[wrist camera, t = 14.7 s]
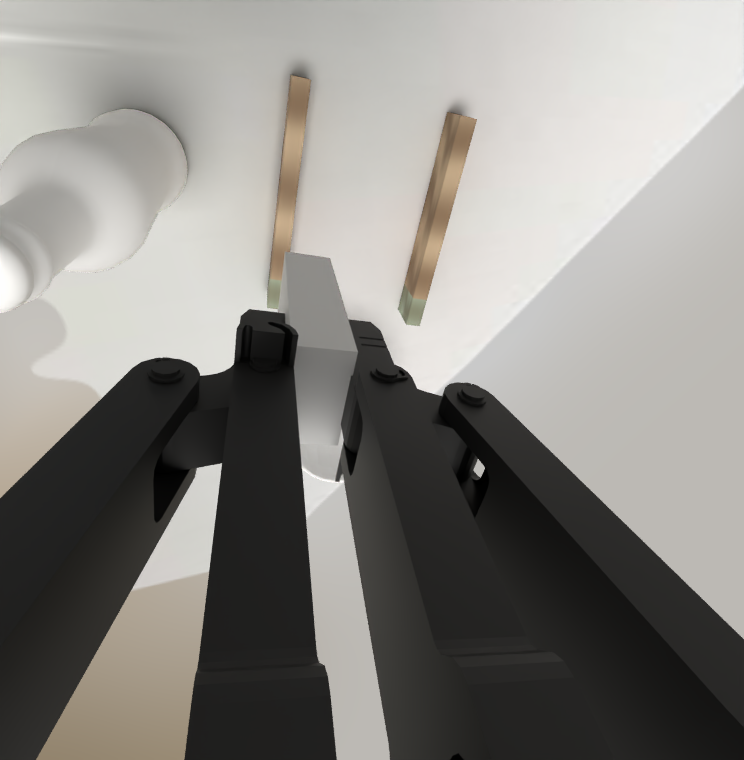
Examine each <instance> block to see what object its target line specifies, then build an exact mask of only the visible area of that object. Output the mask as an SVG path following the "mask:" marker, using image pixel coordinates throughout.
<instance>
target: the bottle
mask: <svg viewBox="0 0 744 760" xmlns="http://www.w3.org/2000/svg"><path fill="white" fill-rule="evenodd" d="M187 172H188V170H187V160H186V156H185V153H184V150H183V148H182V145H181V143H180V142H179V140H178V138H177V137H176V135H175V134H174V132H173V131H172V130H171V129H170V128H169V127H168V126H167V125H166V124H165V123H163V122H162V121H160V120H159V119H157V118H155V117H154V116H152V115H151V114H148V113H145V112H142V111H139V110H135V109H119V110H114V111H110V112H106V113H103V114H102V115H100V116H98V117H97V118H95V119H93V120H92V121H91V123H90V124H89V125H88V126H87V127H80V128H71V129H63V130H56V131H51V132H47V133H42V134H38V135H35V136H32V137H30V138H29V139H27V140H25V141H24V142H22V143H20V144H19V145H17V146H16V147H15V148H14V149H13V150H12V152H11V153H10V154H9V155H8V157H7V158H6V159H5V160H4V162H3V163H2V165H1V168H0V313H3V312H7V311H10V310H13V309H15V308H17V307H19V306H21V305H23V304H24V303H28V302H30V301H32V300H34V299H36V298H37V297H39V296H41V295H42V294H43V293H44V292H45V291H46V289H47V288H48V287H49V285H50V283H51V281H52V279H53V278H54V277H55V276H56V275H57V274H58V273H60V272H61V271H62V270H65V271H69V272H87V273H96V272H100V271H104V270H109V269H112V268H114V267H116V266H118V265H119V264H121V263H123V262H125V261H127V260H128V259H130V258H131V257H132V256H133V255H134V254H135V253H136V252H137V251H138V250H139V249H140V248H141V247H142V245H143V244H144V242H145V240H146V238H147V236H148V234H149V231H150V229H151V227H152V225H153V223H154V221H155V219H156V217H157V214H158V213H159V212H161V211H163V210H164V209H166V208H168V207H170V206H171V205H172V204H173V203H174V201H175V200H176V199H177V198H178V197H179V196H180V194H181V192H182V190H183V188H184V186H185V184H186V178H187Z"/></svg>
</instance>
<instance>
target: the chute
mask: <svg viewBox="0 0 744 760" xmlns="http://www.w3.org/2000/svg"><path fill="white" fill-rule="evenodd" d="M310 84H311V80H309V79H306V78H302V77H298V76H294V75H290V84H289V94H288V103H287V113H286V122H285V131H284V141H283V150H282V159H281V169H280V178H279V188H278V197H277V206H276V216H275V225H274V235H273V244H272V253H271V263H270V272H269V282H268V291H267V308H273V309H278V307H279V298H280V290H281V281H282V273H283V264H284V256H285V252H290V245H291V237H292V229H293V220H294V212H295V204H296V196H297V188H298V180H299V172H300V164H301V156H302V148H303V140H304V132H305V124H306V116H307V108H308V100H309V92H310ZM476 121H477V119H474V118H470V117H466V116H462V115H458V114H454V113H450V112H447V116H446V120H445V124H444V128H443V132H442V136H441V140H440V144H439V148H438V152H437V156H436V160H435V164H434V168H433V172H432V176H431V180H430V184H429V188H428V192H427V196H426V200H425V204H424V208H423V212H422V216H421V220H420V224H419V228H418V232H417V236H416V240H415V244H414V248H413V252H412V256H411V260H410V264H409V268H408V272H407V276H406V280H405V284H404V288H403V292H402V296H401V300H400V304H399V308H398V310H399V312H400V314H401V315H402V317H403V319H404V321H405V323H406V325H415V326H420V322H421V319H422V315H423V312H424V308H425V304H426V301H427V297H428V294H429V290H430V286H431V283H432V279H433V276H434V272H435V268H436V265H437V261H438V258H439V254H440V250H441V247H442V243H443V240H444V236H445V232H446V229H447V225H448V222H449V218H450V214H451V211H452V207H453V204H454V200H455V196H456V193H457V189H458V186H459V182H460V178H461V175H462V171H463V168H464V164H465V160H466V157H467V153H468V150H469V146H470V142H471V139H472V135H473V132H474V128H475V124H476Z"/></svg>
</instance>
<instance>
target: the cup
mask: <svg viewBox="0 0 744 760" xmlns="http://www.w3.org/2000/svg"><path fill="white" fill-rule="evenodd" d="M343 441H344V439H343V434H342V429H341V433H340V438H339V443H338V446H336V445H317V444H300V450H301V463H302V469H303V470H304V471H305V472H307V473H308V474H309V475H311V476H312V477H315V478H317V479H320V480H322V481H328V482H333V483H337V482H335V479H336V473H337V468H338V464H339V459H340V455H341V450H342V446H343ZM340 482H344V477H343V474H342V475H341V478H340Z"/></svg>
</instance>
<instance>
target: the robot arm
mask: <svg viewBox="0 0 744 760" xmlns="http://www.w3.org/2000/svg"><path fill="white" fill-rule="evenodd" d="M341 429H342V434H343V439H344V441H343V446H342V450H341V455H340V459H339V464H338V468H337V473H336V479H335V482H340V478H341V475H342V474H343V477H344V483H345V489H346V495H347V500H348V507H349V512H350V518H351V524H352V530H353V536H354V542H355V548H356V554H357V559H358V566H359V572H360V577H361V583H362V589H363V595H364V601H365V607H366V613H367V619H368V625H369V630H370V636H371V642H372V648H373V654H374V660H375V666H376V671H377V677H378V684H379V689H380V695H381V701H382V707H383V713H384V719H385V725H386V731H387V736H388V742H389V751H390V760H744V639H743V638H742V637H741V636H740V635H739V634H738V633H737V632H736V631H735V630H734V629H732V627H730V626H729V625H728V624H727V623H726V622H725V621H724V620H723V619H722V618H721V617H720V616H719V615H718V614H717V613H716V612H715V611H714V610H713V609H712V608H711V607H710V606H709V605H708V604H707V603H706V602H705V601H704V600H703V599H701V597H700V596H699V595H698V594H697V593H696V592H695V591H693V590H692V589H691V588H690V587H689V586H688V585H687V584H686V583H685V582H684V581H683V580H682V579H681V578H680V577H679V576H678V575H677V574H676V573H675V572H674V571H673V570H672V569H671V568H670V567H669V566H668V565H667V564H666V563H665V562H663V560H662V559H661V558H660V557H659V556H657V555H656V554H655V553H654V552H653V551H652V550H651V549H650V548H649V547H648V546H647V545H646V544H645V543H644V542H643V541H642V540H641V539H640V538H639V537H638V536H637V535H636V534H635V533H634V532H633V531H632V530H631V529H630V528H629V527H628V526H627V525H626V524H625V523H624V522H623V521H622V520H621V519H619V518H618V517H617V516H616V515H615V514H614V513H613V512H612V511H611V510H610V509H609V508H608V507H607V506H606V505H605V504H604V503H603V502H602V501H601V500H600V499H599V498H598V497H597V496H596V495H595V494H594V493H593V492H592V491H591V490H590V489H589V488H588V487H586V485H584V483H582V482H581V481H580V480H579V479H578V478H577V477H576V476H575V475H574V474H573V473H572V472H571V471H570V470H569V469H568V468H567V467H566V466H565V465H564V464H563V463H562V462H561V461H560V460H559V459H558V458H557V457H556V456H555V455H553V453H552V452H551V451H550V450H549V449H548V448H546V447H545V446H544V445H543V444H542V443H541V442H540V441H539V440H538V439H537V438H536V437H535V436H534V435H533V434H532V433H531V432H530V431H529V430H528V429H527V428H526V427H525V426H524V425H523V424H522V423H521V422H520V421H519V420H518V419H517V418H516V417H514V415H513V414H511V412H510V411H508V410H507V409H506V408H505V407H504V406H503V405H502V404H501V403H500V402H499V401H498V400H497V399H496V398H495V397H494V396H493V395H492V394H490V393H489V392H488V391H486V390H484V389H482V388H480V387H479V386H477V385H474V384H472V385H471V384H470V383H453V384H449V385H448V386H447V387H445V390H444V393H443V396H439V395H435V394H432V393H428V392H425V391H422V390H419V389H417V388H416V385H415V383H414V381H413V379H412V377H411V376H410V374H409V373H408V372H407V371H405V370H404V369H403V368H401V367H399V366H396V365H394V363H393V360H392V358H391V356H390V353H389V351H388V348H387V346H386V343H385V341H384V338H383V336H382V333H381V331H380V330H379V329H378V328H377V327H376V326H374V325H373V324H372V323H371V322H365V321H357V320H348V317H347V314H346V310H345V307H344V304H343V300H342V297H341V294H340V290H339V287H338V284H337V280H336V277H335V274H334V270H333V267H332V264H331V260H330V258H325V257H319V256H312V255H305V254H298V253H291V252H285V256H284V264H283V273H282V281H281V290H280V298H279V307H278V313H277V312H269V311H260V310H251V309H249V310H248V311H247V312H245V313H244V314H243V315H242V316H241V319H240V324H239V326H238V327H237V333H236V346H235V360H234V365H233V366H232V367H231V368H229V369H227V370H226V371H224V372H221V373H218V374H212V375H205V376H200V373H199V371H198V369H197V368H196V367H195V366H193V365H192V364H191V363H189V362H186V361H183V360H180V359H172V358H155V359H151V360H147V361H144V362H141V363H139V364H138V365H136V366H135V367H133V368H132V369H131V370H130V371H129V372H128V373H127V374H126V375H125V376H124V377H123V378H122V379H121V380H120V381H119V382H118V383H117V384H116V385H115V386H114V387H113V388H112V389H111V390H110V391H109V392H108V393H107V394H106V395H105V396H104V397H103V398H102V399H101V400H100V401H99V402H98V403H97V404H96V405H95V406H94V407H93V408H92V409H91V410H90V411H89V412H88V413H87V414H85V416H84V417H83V418H81V419H80V420H79V421H78V422H77V423H76V424H75V425H74V426H73V427H72V428H71V429H70V430H69V431H68V432H67V433H66V434H65V435H64V436H63V437H62V438H61V439H60V440H59V441H58V442H57V443H56V444H55V445H54V446H53V447H52V448H51V449H50V450H49V451H48V452H47V453H46V454H45V455H44V456H43V457H42V458H41V459H40V460H39V461H38V462H37V463H36V464H35V465H34V466H33V467H32V468H31V469H30V470H29V471H28V472H27V473H26V474H25V475H24V476H22V478H20V479H19V480H18V481H17V482H16V483H15V484H14V485H13V487H11V488H10V489H9V490H8V491H7V492H6V493H5V494H4V495H3V496H2V497H1V498H0V760H36V758H37V757H38V755H39V753H40V752H41V750H42V748H43V746H44V744H45V743H46V741H47V739H48V737H49V735H50V734H51V732H52V730H53V728H54V727H55V725H56V723H57V721H58V719H59V718H60V716H61V714H62V712H63V711H64V709H65V707H66V705H67V703H68V702H69V700H70V698H71V696H72V694H73V693H74V691H75V689H76V687H77V685H78V684H79V682H80V680H81V679H82V677H83V675H84V673H85V671H86V670H87V668H88V666H89V664H90V663H91V661H92V659H93V657H94V655H95V654H96V652H97V650H98V648H99V647H100V645H101V643H102V641H103V639H104V638H105V636H106V634H107V632H108V631H109V629H110V627H111V625H112V623H113V621H114V620H115V618H116V616H117V615H118V613H119V611H120V609H121V607H122V605H123V604H124V602H125V600H126V598H127V597H128V595H129V593H130V591H131V590H132V588H133V586H134V584H135V583H136V581H137V579H138V577H139V575H140V574H141V572H142V570H143V568H144V566H145V565H146V563H147V561H148V559H149V558H150V556H151V554H152V552H153V550H154V549H155V547H156V545H157V543H158V542H159V540H160V538H161V536H162V534H163V533H164V531H165V529H166V527H167V526H168V524H169V522H170V520H171V518H172V517H173V515H174V513H175V511H176V510H177V508H178V506H179V504H180V502H181V501H182V499H183V497H184V495H185V494H186V492H187V490H188V488H189V486H190V485H191V483H192V481H193V479H194V478H195V474H196V470H197V468H198V467H204V466H209V465H214V464H220V463H222V470H221V478H220V486H219V495H218V503H217V511H216V520H215V528H214V537H213V545H212V553H211V562H210V570H209V580H208V588H207V596H206V604H205V612H204V621H203V629H202V637H201V646H200V654H199V662H198V668H197V672H196V675H195V681H194V688H193V695H192V703H191V711H190V719H189V727H188V735H187V743H186V751H185V759H184V760H337V759H336V749H335V738H334V728H333V719H332V718H333V717H332V707H331V698H330V697H331V696H330V689H329V682H328V676H327V672H326V669H325V666H324V665H323V664H321V663H319V661H318V657H317V650H316V641H315V628H314V615H313V602H312V592H311V591H312V590H311V577H310V564H309V551H308V539H307V528H306V513H305V501H304V488H303V475H302V463H301V450H300V444H317V445H336V446H338V443H339V438H340V433H341ZM477 459H479V460H480V461H481V463H482V464H483V465H484V467H485V470H484V472H483V475H482V476H481V478H480V477H479V476H477V474H476V473H475V472H474V471H473V469H474V467H475V464H476V462H477Z"/></svg>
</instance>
